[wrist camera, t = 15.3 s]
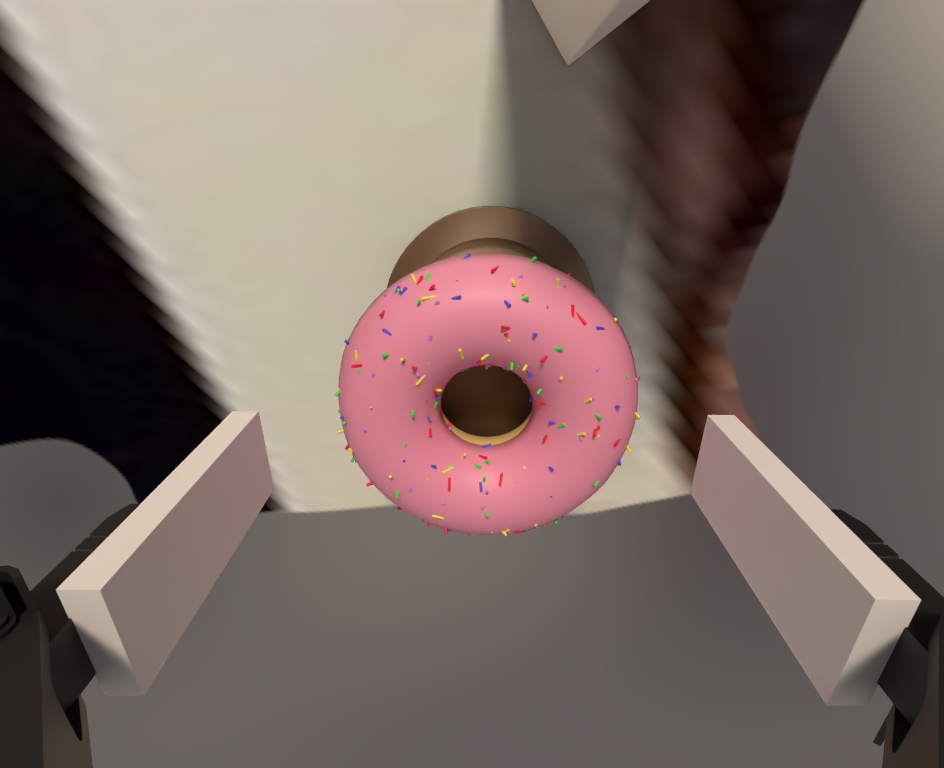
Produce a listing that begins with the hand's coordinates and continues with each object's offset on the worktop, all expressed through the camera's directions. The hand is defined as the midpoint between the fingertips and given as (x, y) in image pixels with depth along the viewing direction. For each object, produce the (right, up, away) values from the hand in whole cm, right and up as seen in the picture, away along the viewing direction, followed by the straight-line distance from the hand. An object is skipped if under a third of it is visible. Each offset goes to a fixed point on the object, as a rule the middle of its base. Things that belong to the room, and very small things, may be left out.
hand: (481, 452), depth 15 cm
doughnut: (0, +2, +5) cm, 6 cm away
